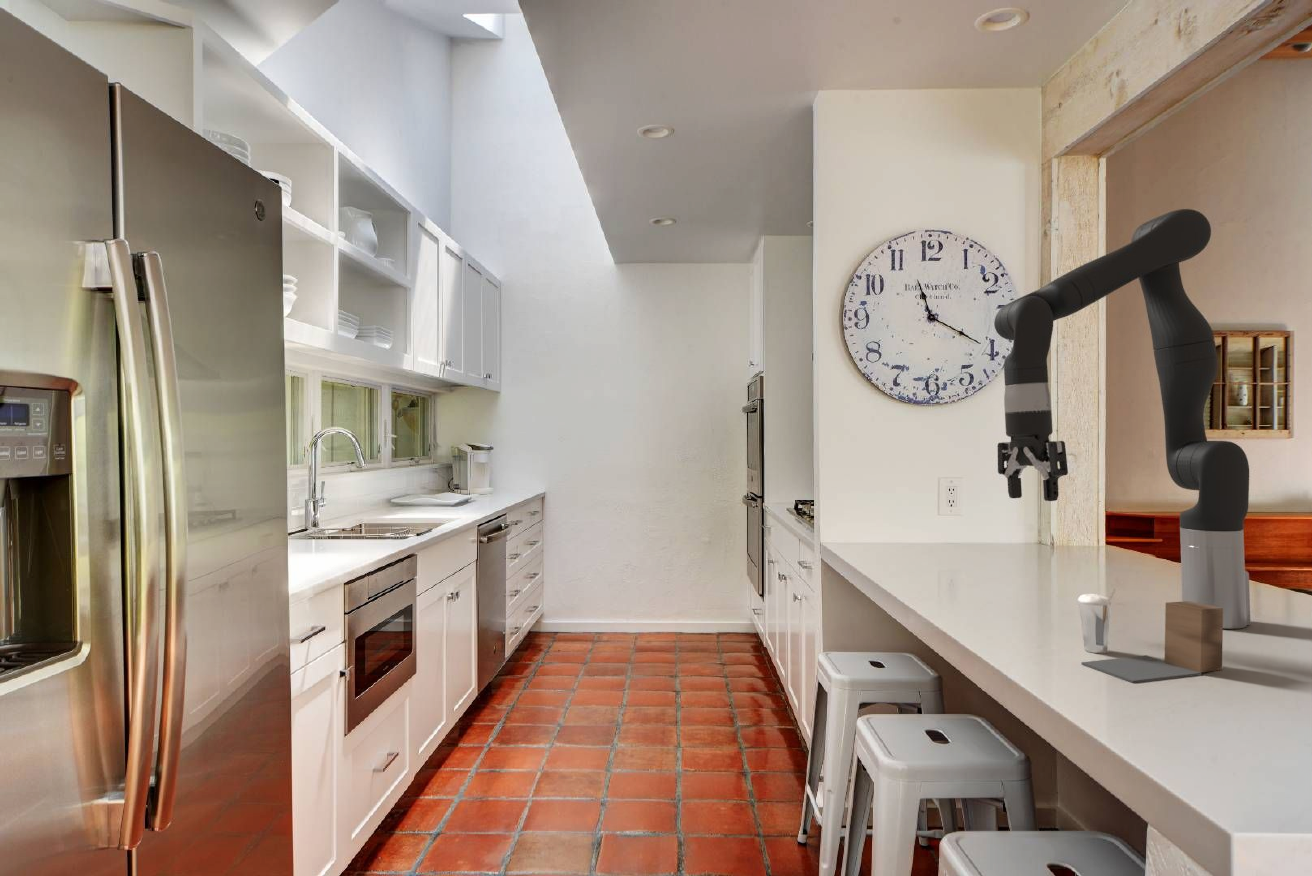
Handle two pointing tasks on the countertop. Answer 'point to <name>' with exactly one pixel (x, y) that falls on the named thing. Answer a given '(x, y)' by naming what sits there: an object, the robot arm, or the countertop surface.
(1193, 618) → the walnut block
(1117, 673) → the mat
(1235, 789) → the countertop surface
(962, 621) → the countertop surface
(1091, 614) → the milkshake
